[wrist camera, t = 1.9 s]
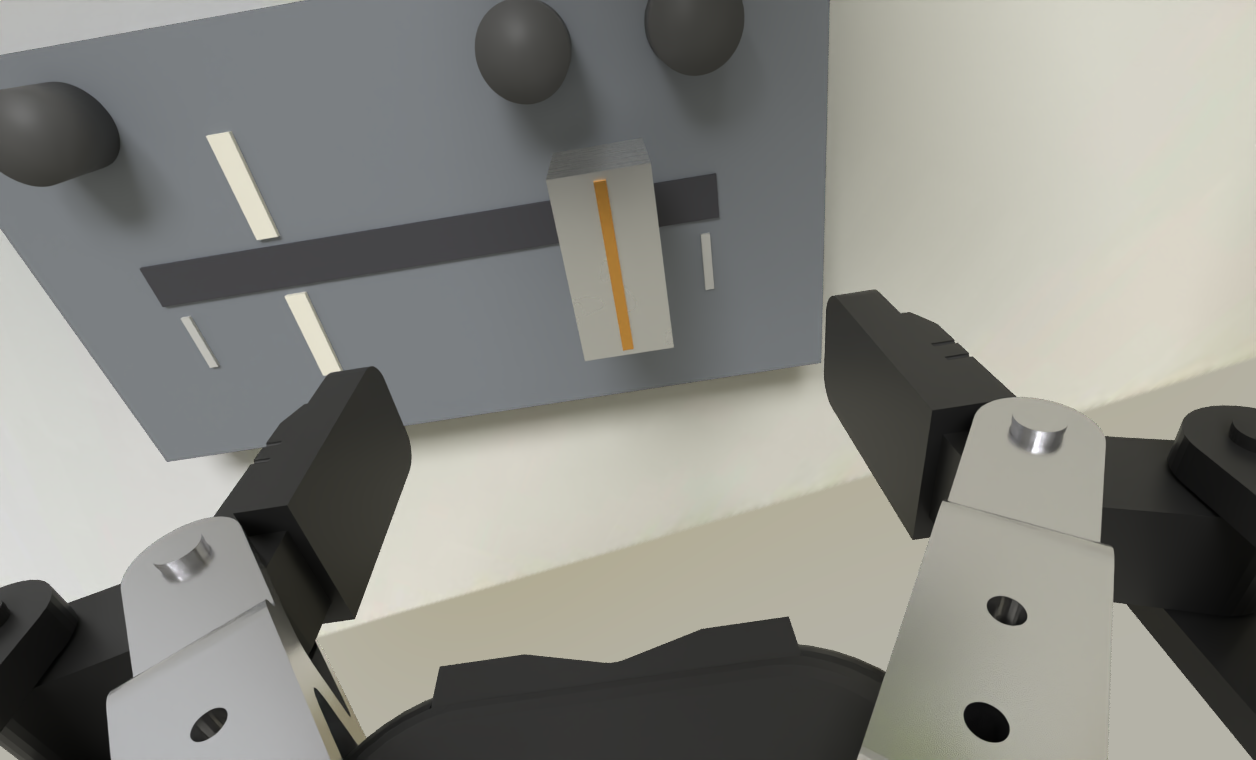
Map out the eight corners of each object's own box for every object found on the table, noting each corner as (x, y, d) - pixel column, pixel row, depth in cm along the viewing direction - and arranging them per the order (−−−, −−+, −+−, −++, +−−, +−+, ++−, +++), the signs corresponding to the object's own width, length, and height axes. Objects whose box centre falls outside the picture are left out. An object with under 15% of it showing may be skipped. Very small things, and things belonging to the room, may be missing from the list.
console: (803, -84, 18) (860, -105, 14) (802, 332, 26) (839, 391, 22) (-32, 65, 19) (-188, 83, 15) (201, 424, 27) (135, 496, 23)
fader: (638, 127, 18) (651, 164, 14) (658, 282, 21) (674, 349, 17) (555, 141, 18) (545, 181, 14) (586, 293, 21) (585, 363, 17)
